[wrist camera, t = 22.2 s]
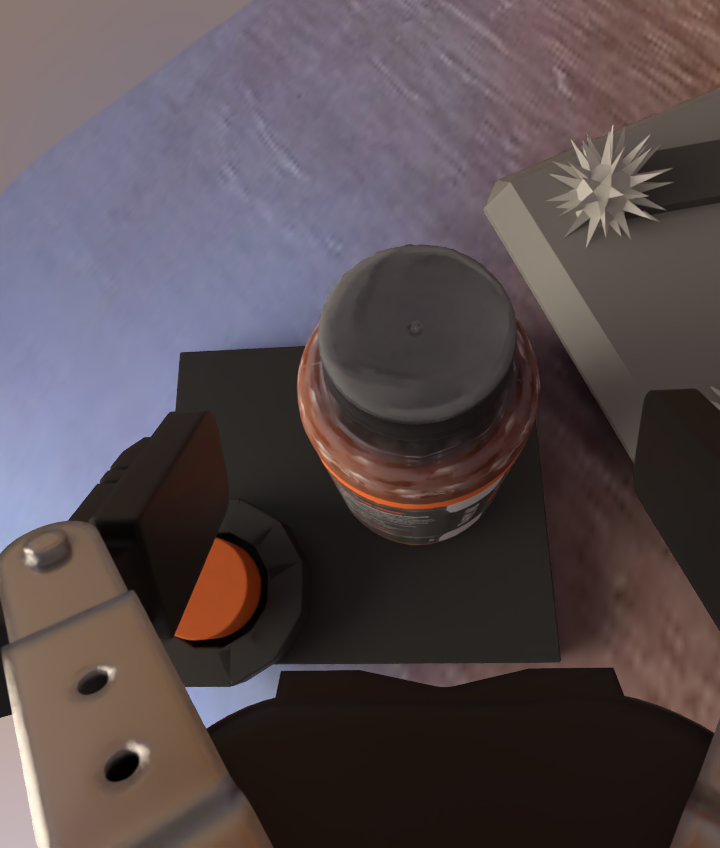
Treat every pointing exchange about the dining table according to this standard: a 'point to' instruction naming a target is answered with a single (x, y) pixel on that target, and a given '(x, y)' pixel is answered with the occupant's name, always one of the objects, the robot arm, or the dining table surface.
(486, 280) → the supplement bottle
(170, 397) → the dining table surface
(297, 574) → the kitchen scale
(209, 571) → the button
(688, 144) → the grey spiked board
